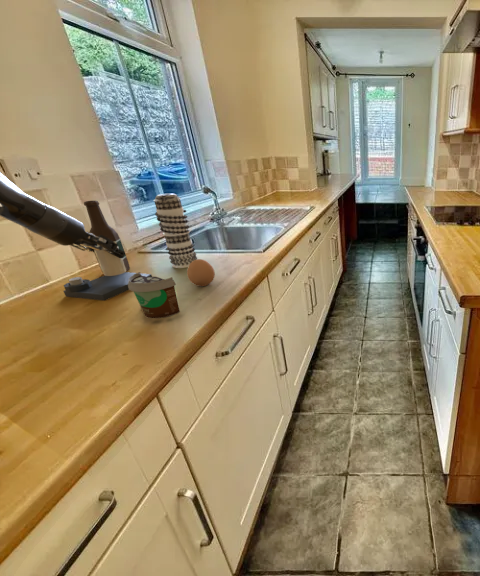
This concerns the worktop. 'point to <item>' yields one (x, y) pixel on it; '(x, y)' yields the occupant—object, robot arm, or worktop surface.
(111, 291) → the scale
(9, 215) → the robot arm
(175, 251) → the white patterned cylinder
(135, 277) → the food container
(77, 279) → the tare button
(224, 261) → the worktop surface
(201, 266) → the egg
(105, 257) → the cup
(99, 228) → the beer bottle
